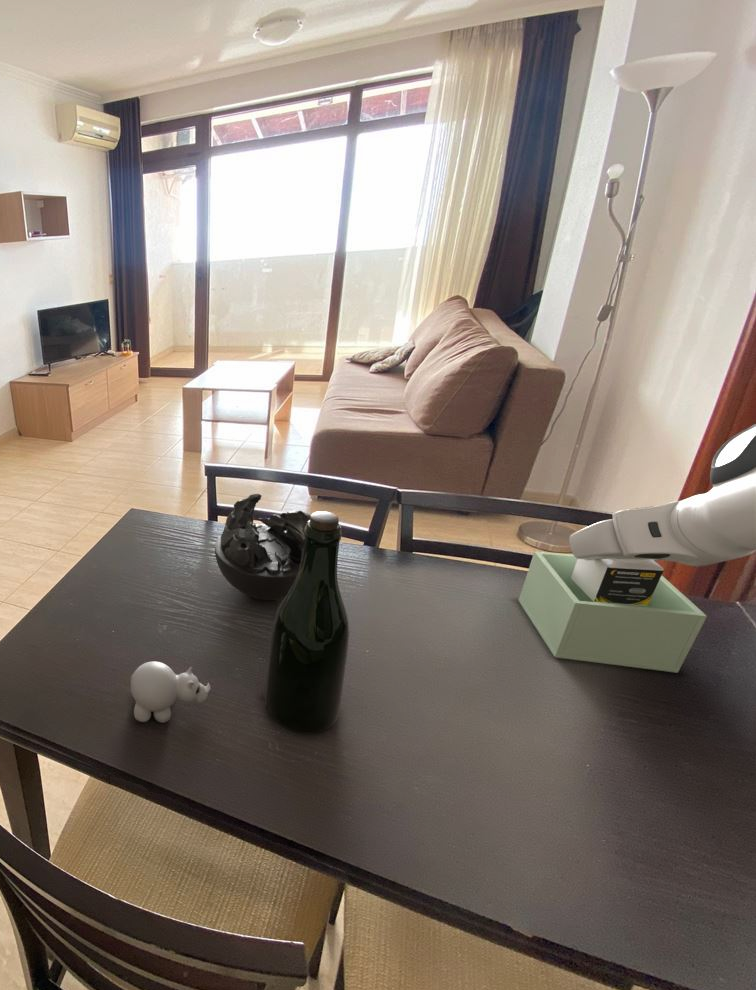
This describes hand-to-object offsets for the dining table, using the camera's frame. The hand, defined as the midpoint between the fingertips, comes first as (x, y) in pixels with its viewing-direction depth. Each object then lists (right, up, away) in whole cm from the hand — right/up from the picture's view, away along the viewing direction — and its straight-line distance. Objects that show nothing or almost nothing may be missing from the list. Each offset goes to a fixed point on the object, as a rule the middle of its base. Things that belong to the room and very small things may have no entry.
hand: (618, 555), depth 85 cm
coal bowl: (-49, -10, +24) cm, 55 cm away
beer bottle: (-52, -23, -4) cm, 57 cm away
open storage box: (+1, -14, +6) cm, 15 cm away
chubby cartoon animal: (-72, -24, -2) cm, 76 cm away
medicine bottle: (0, -6, +2) cm, 7 cm away
